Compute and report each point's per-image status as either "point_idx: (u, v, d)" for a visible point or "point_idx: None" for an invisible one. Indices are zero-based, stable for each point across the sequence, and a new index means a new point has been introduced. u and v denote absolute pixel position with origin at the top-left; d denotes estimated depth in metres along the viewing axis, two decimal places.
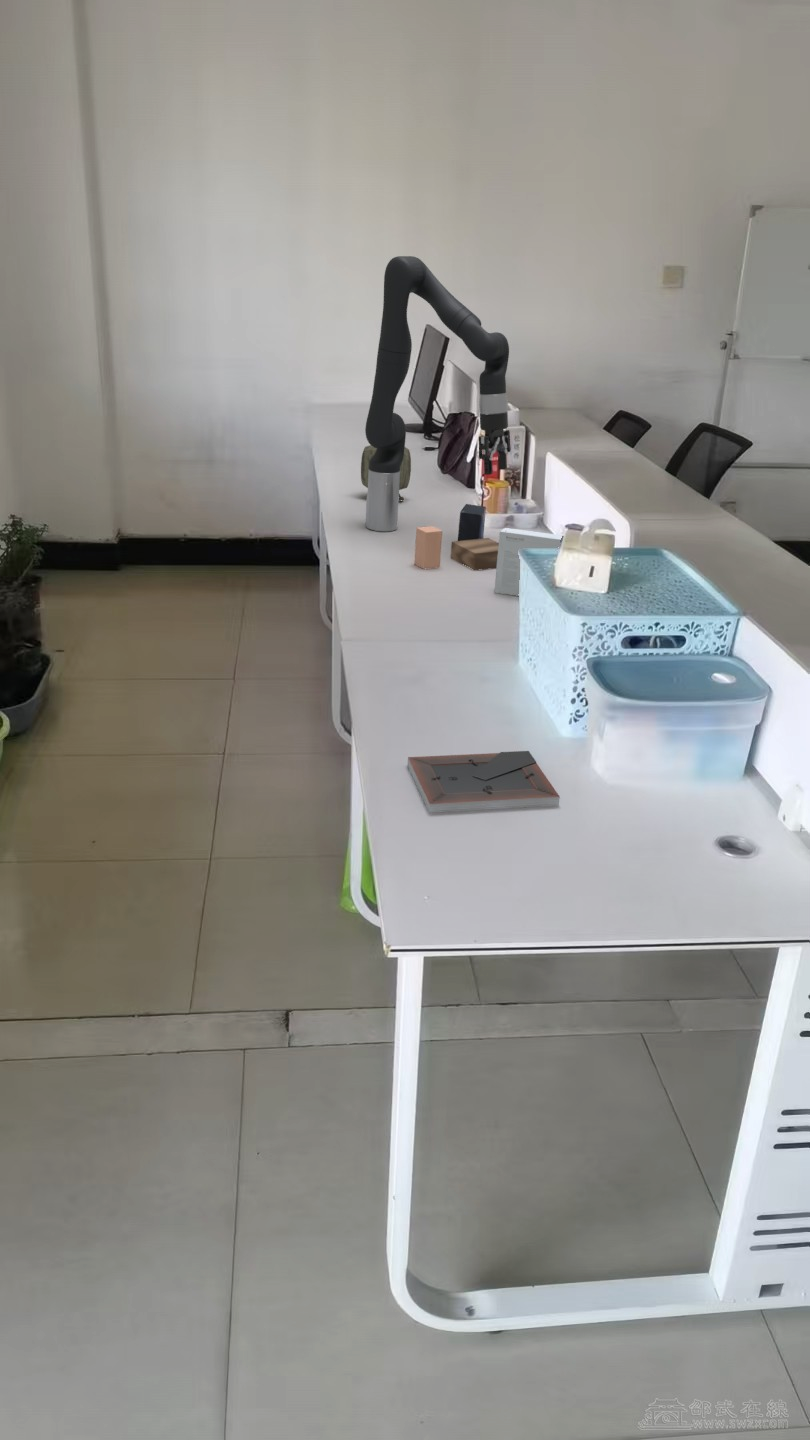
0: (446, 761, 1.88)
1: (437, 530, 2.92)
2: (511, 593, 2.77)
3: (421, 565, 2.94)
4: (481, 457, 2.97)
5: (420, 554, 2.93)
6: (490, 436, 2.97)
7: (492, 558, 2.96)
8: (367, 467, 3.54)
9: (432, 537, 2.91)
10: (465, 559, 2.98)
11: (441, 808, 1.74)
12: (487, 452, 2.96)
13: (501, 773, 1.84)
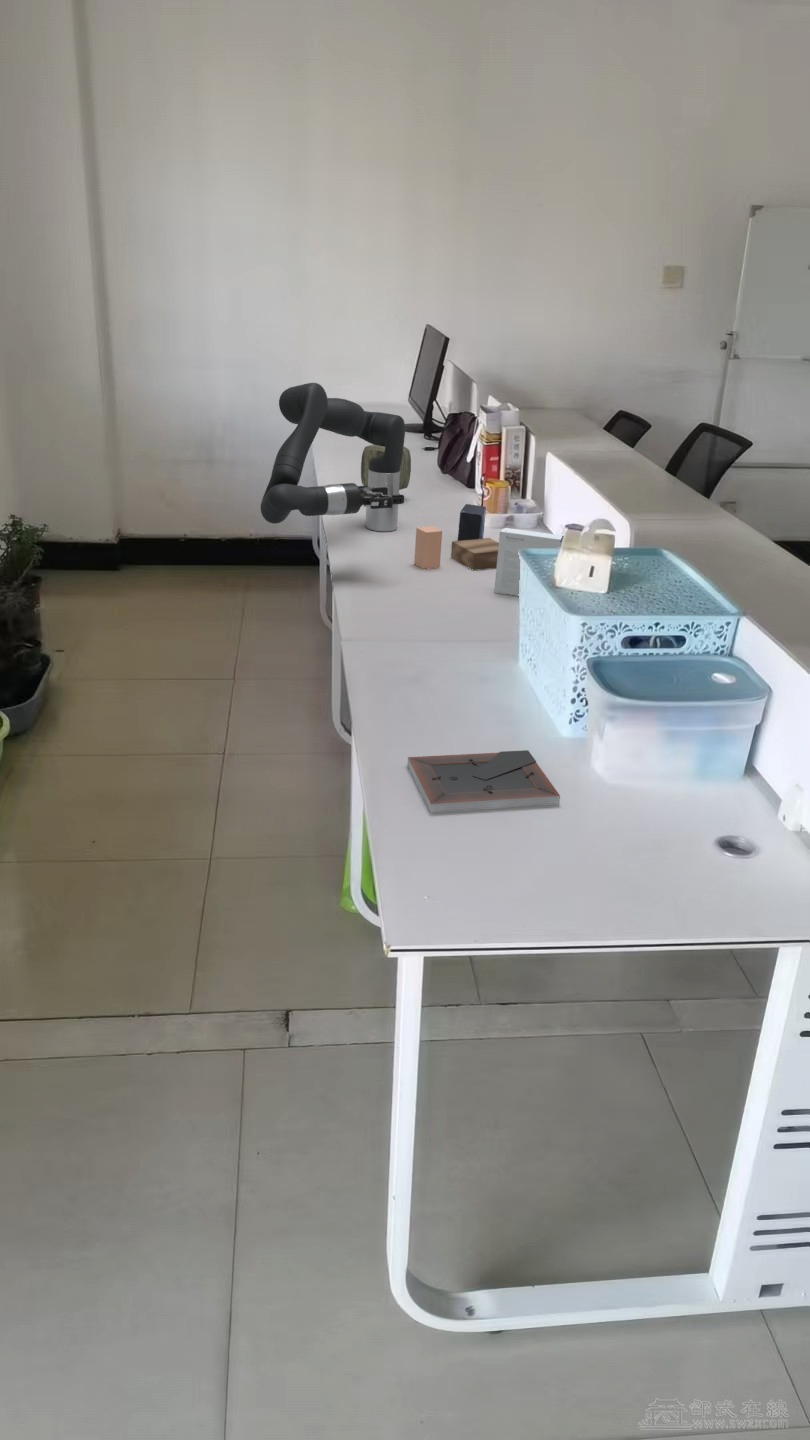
0: (446, 760, 1.88)
1: (437, 530, 2.92)
2: (511, 593, 2.77)
3: (421, 565, 2.94)
4: None
5: (420, 554, 2.93)
6: None
7: (491, 558, 2.96)
8: (367, 467, 3.54)
9: (432, 537, 2.91)
10: (465, 559, 2.98)
11: (442, 808, 1.75)
12: None
13: (501, 773, 1.85)
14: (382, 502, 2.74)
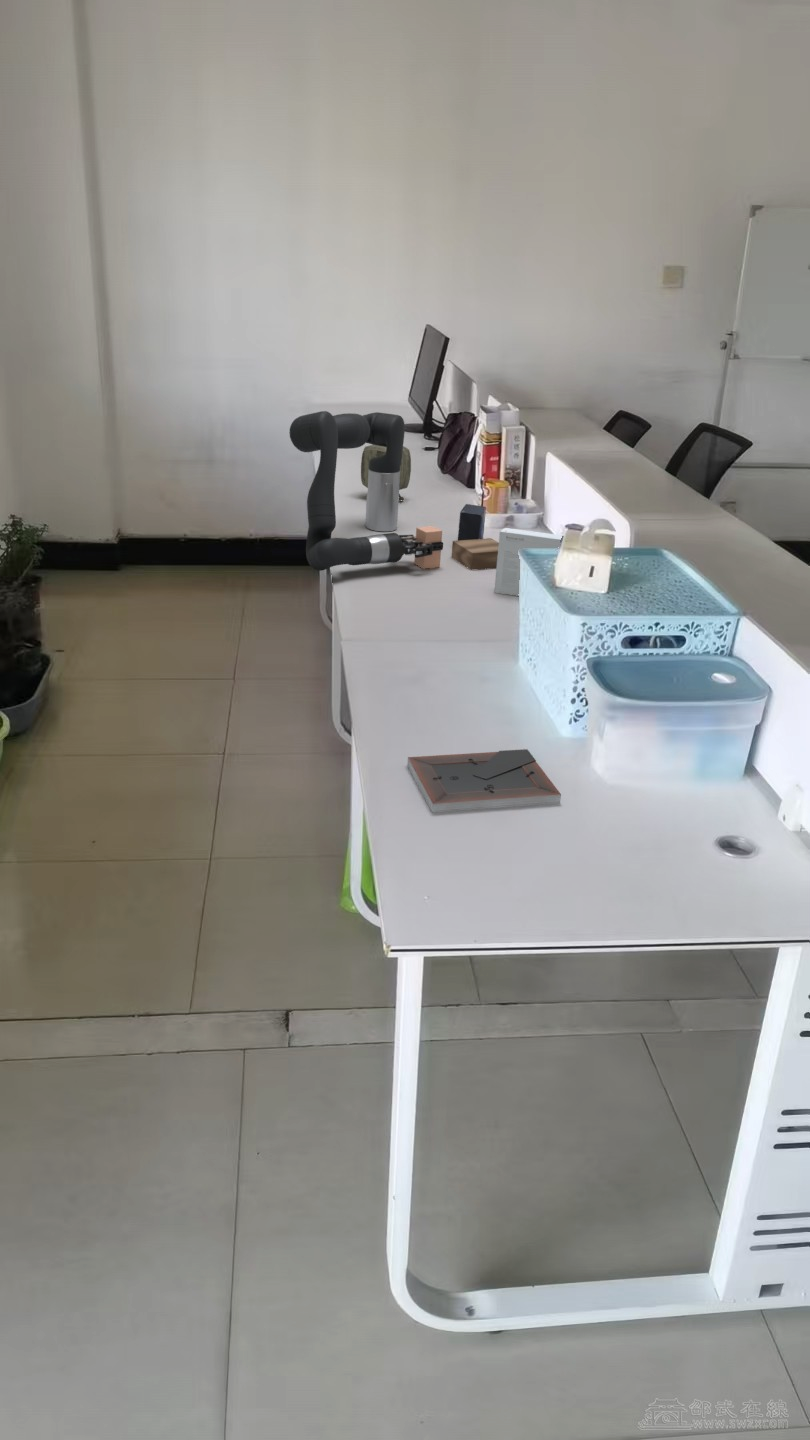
0: (446, 760, 1.88)
1: (437, 530, 2.92)
2: (511, 593, 2.77)
3: (421, 565, 2.94)
4: None
5: None
6: None
7: (490, 558, 2.96)
8: (367, 467, 3.54)
9: (432, 537, 2.91)
10: (464, 559, 2.98)
11: (444, 808, 1.75)
12: None
13: (501, 772, 1.85)
14: (425, 550, 2.87)
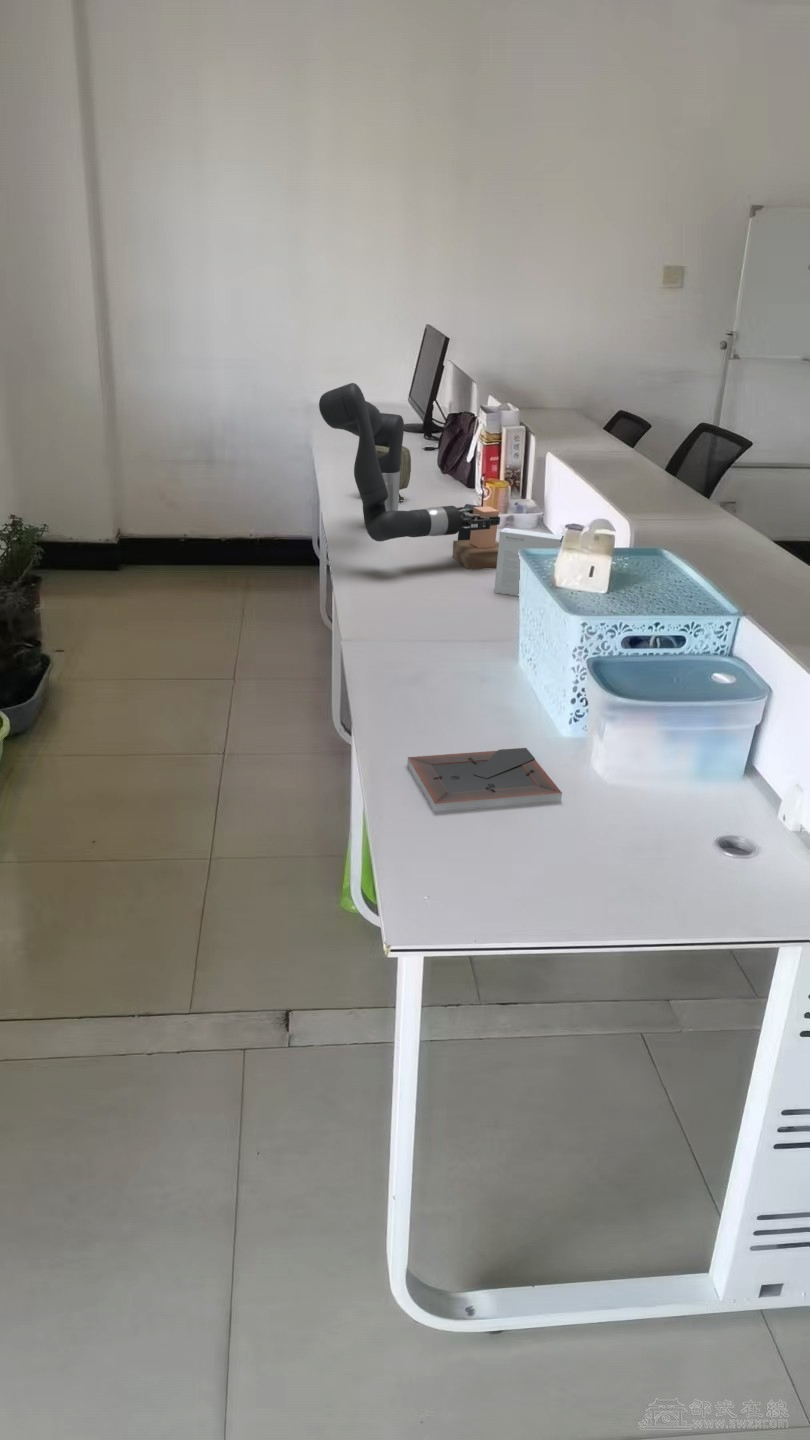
0: (445, 760, 1.88)
1: (494, 510, 2.96)
2: (511, 593, 2.77)
3: (477, 544, 2.98)
4: None
5: (476, 533, 2.98)
6: None
7: (488, 559, 2.96)
8: None
9: None
10: (463, 558, 2.98)
11: (446, 807, 1.75)
12: None
13: (502, 771, 1.85)
14: (481, 524, 2.89)
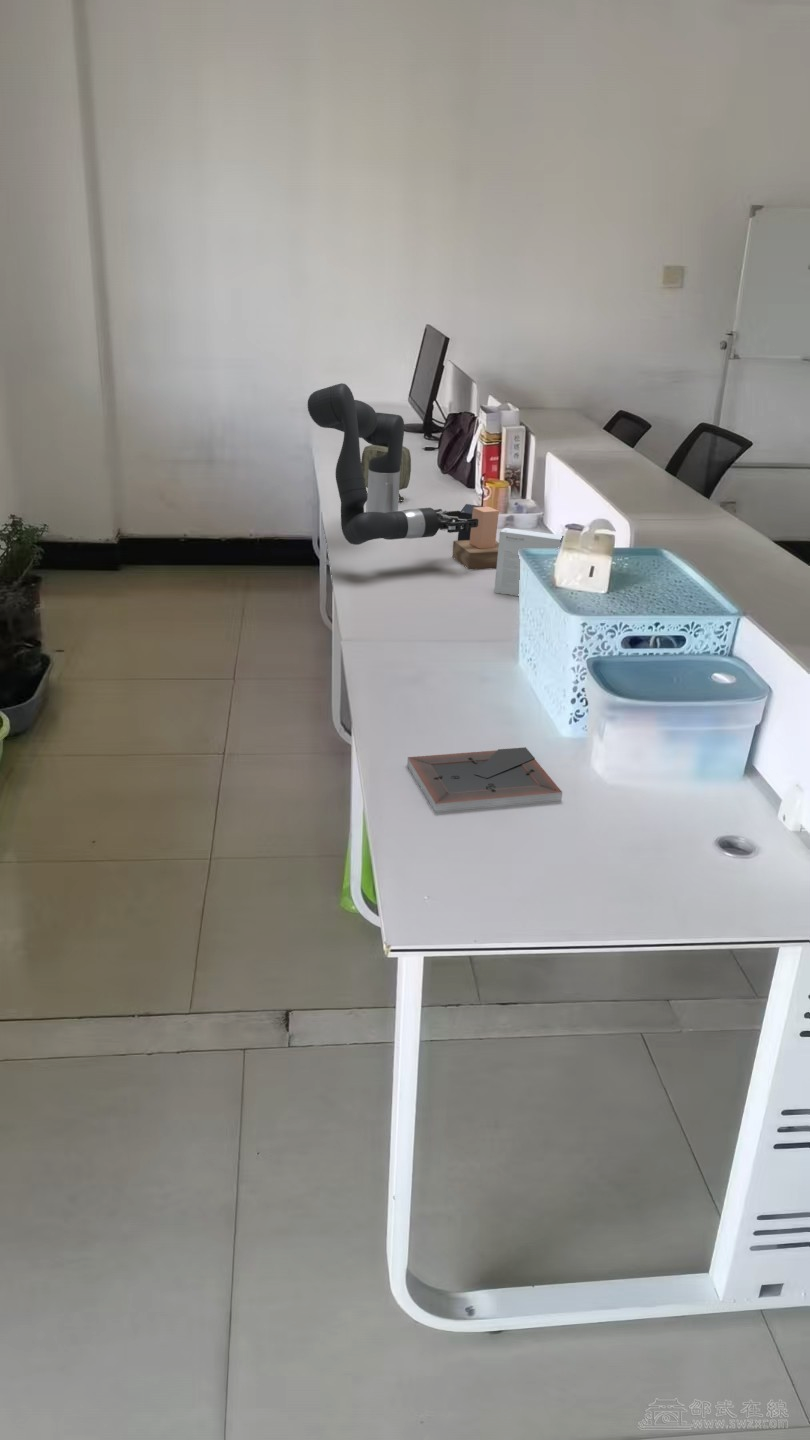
0: (445, 759, 1.88)
1: (494, 510, 2.96)
2: (511, 593, 2.77)
3: (477, 544, 2.98)
4: None
5: (476, 534, 2.97)
6: None
7: (488, 558, 2.96)
8: (367, 467, 3.54)
9: (489, 517, 2.95)
10: (463, 558, 2.98)
11: (447, 807, 1.75)
12: None
13: (502, 770, 1.85)
14: (458, 526, 2.86)
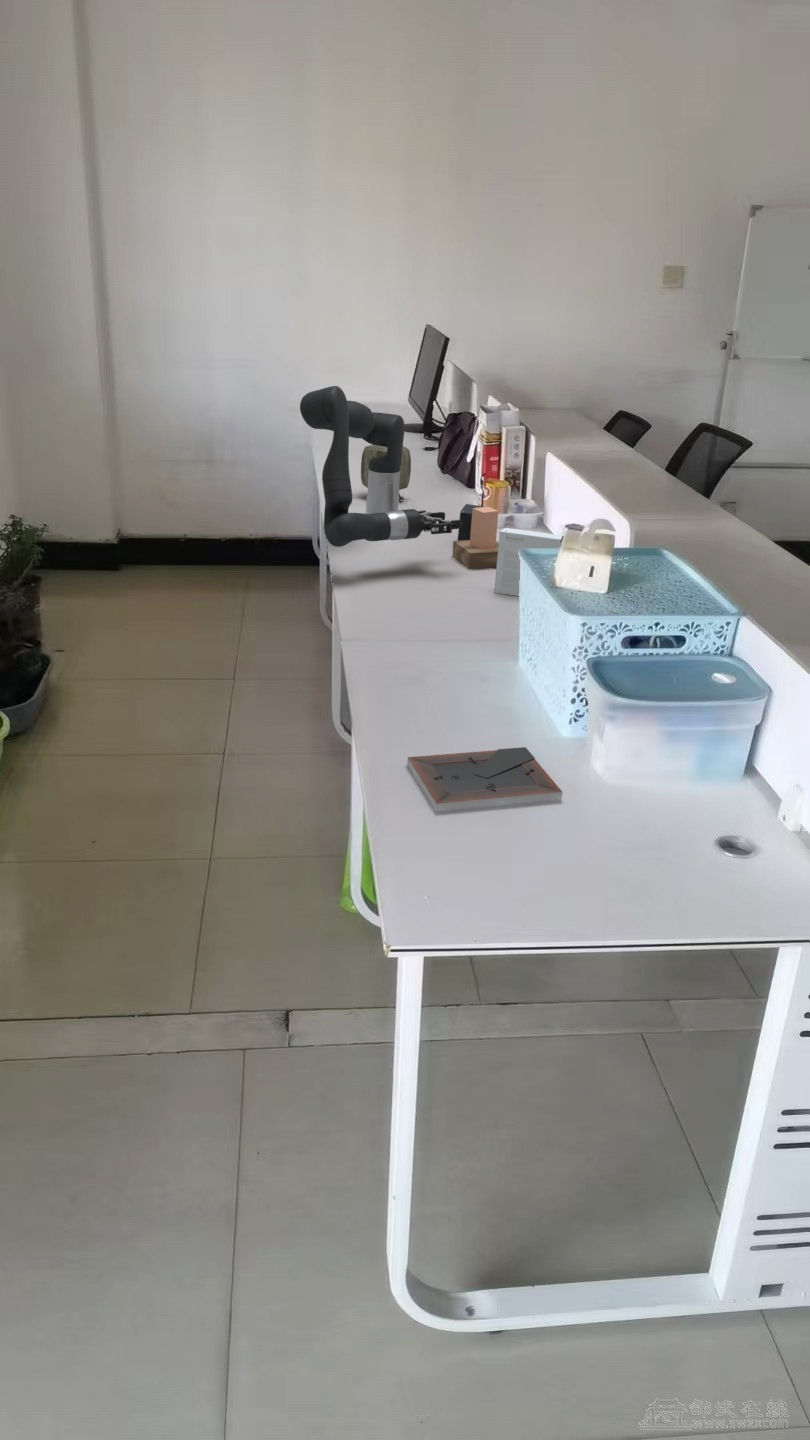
0: (445, 759, 1.88)
1: (493, 510, 2.96)
2: (511, 593, 2.77)
3: (477, 545, 2.98)
4: None
5: (477, 534, 2.97)
6: None
7: (488, 559, 2.96)
8: (367, 467, 3.54)
9: (489, 517, 2.95)
10: (463, 559, 2.98)
11: (447, 807, 1.75)
12: None
13: (502, 770, 1.85)
14: (442, 528, 2.83)
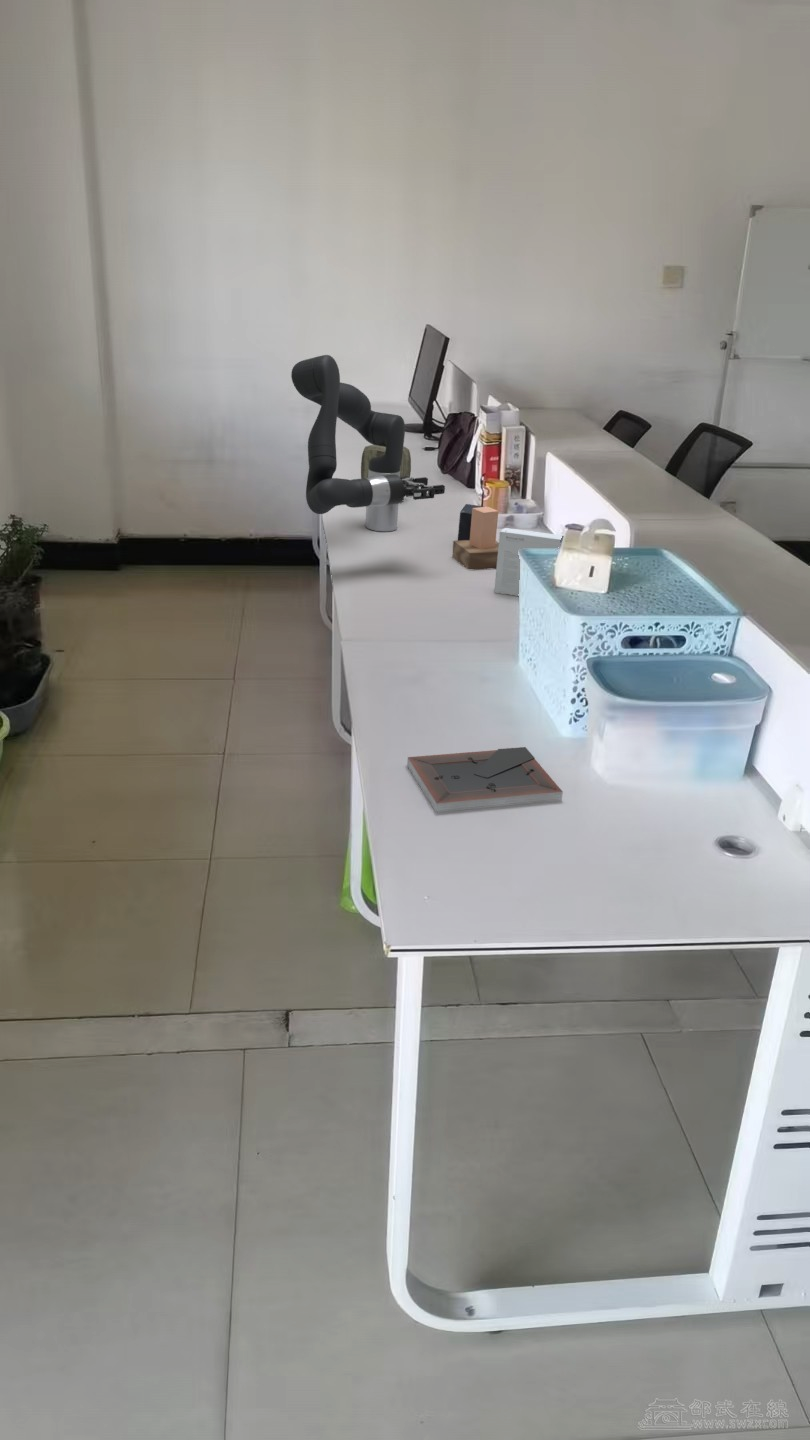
0: (445, 759, 1.88)
1: (493, 510, 2.96)
2: (511, 593, 2.77)
3: (477, 545, 2.98)
4: None
5: (477, 534, 2.97)
6: None
7: (488, 559, 2.96)
8: (367, 467, 3.54)
9: (489, 517, 2.95)
10: (463, 558, 2.98)
11: (448, 807, 1.75)
12: None
13: (502, 770, 1.86)
14: (424, 493, 2.81)
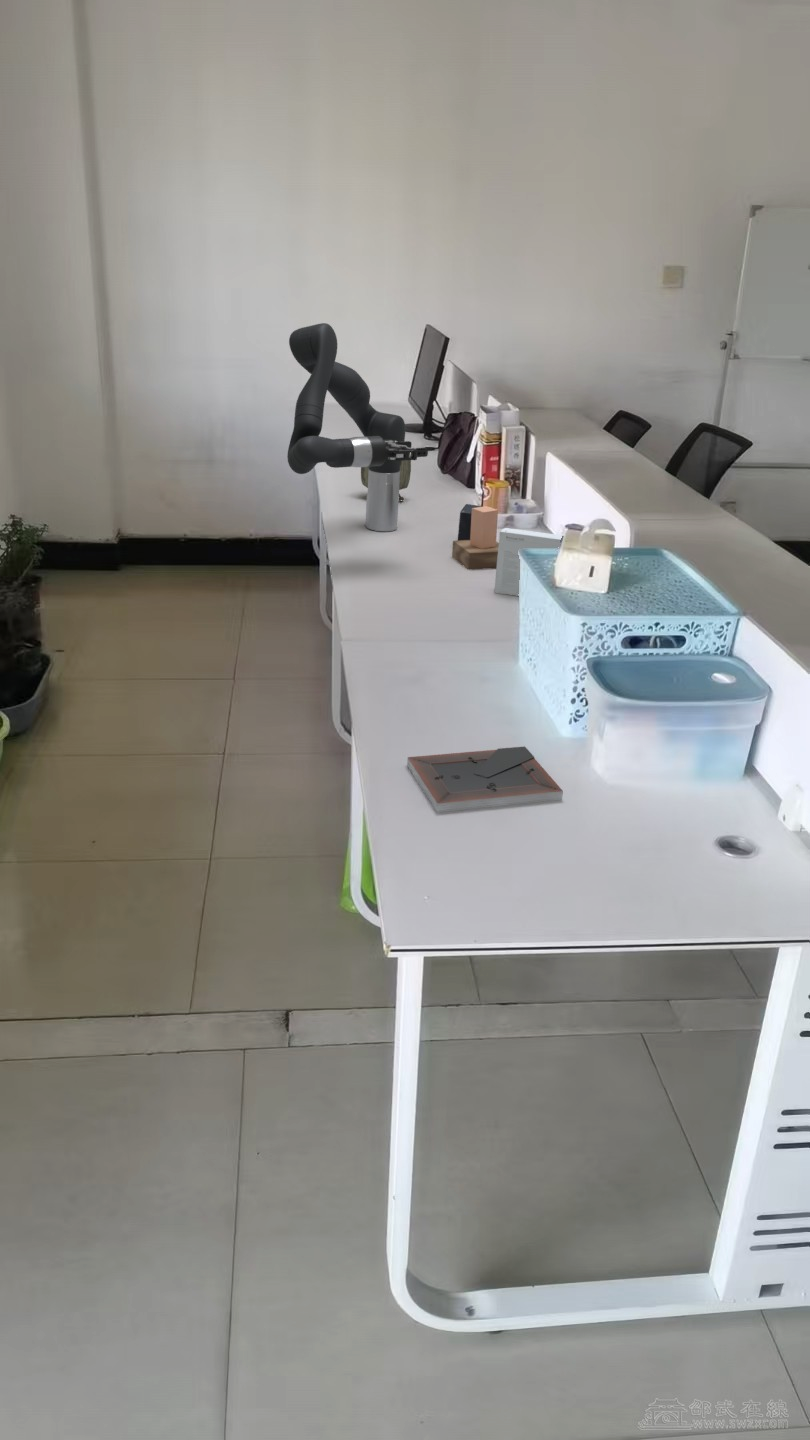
0: (445, 759, 1.88)
1: (493, 509, 2.96)
2: (511, 593, 2.77)
3: (478, 545, 2.98)
4: None
5: (477, 534, 2.97)
6: None
7: (488, 559, 2.96)
8: (367, 467, 3.54)
9: (489, 517, 2.95)
10: (462, 558, 2.98)
11: (448, 807, 1.75)
12: None
13: (502, 770, 1.86)
14: (407, 454, 2.79)
